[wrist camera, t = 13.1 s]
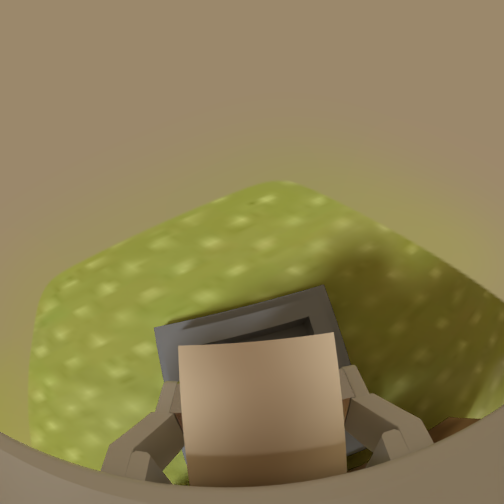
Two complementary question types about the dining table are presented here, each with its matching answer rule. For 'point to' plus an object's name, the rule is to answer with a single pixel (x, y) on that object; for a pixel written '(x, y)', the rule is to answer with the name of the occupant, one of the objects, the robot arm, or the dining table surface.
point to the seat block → (256, 332)
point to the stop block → (262, 412)
